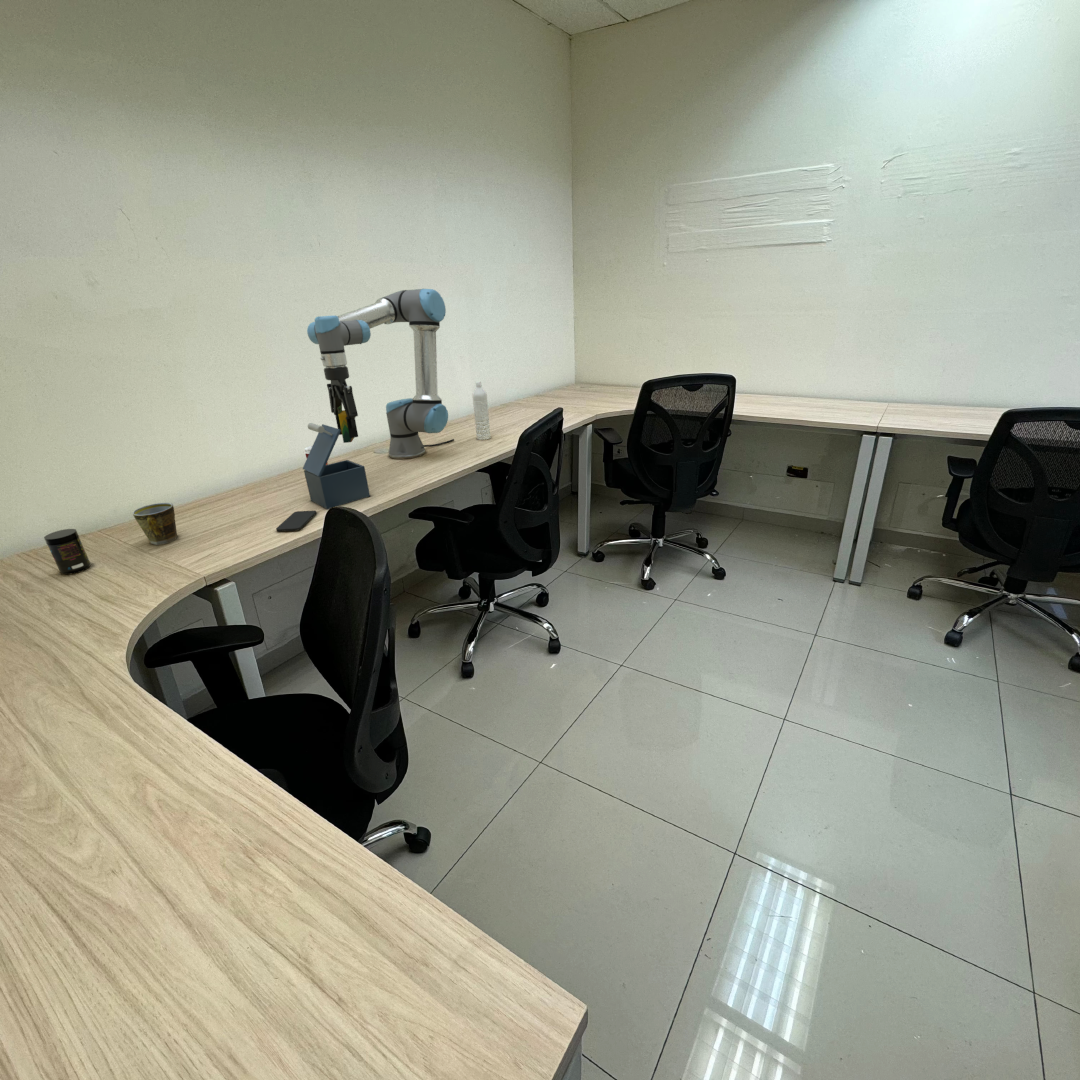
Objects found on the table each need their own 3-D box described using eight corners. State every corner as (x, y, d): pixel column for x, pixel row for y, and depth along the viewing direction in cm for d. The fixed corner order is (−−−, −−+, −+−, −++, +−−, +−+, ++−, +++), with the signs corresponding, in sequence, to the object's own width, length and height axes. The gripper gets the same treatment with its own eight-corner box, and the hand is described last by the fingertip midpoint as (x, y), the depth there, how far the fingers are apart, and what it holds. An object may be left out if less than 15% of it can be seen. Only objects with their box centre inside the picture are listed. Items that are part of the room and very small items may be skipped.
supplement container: (84, 561, 152) (69, 527, 148) (96, 566, 149) (81, 531, 145) (55, 572, 147) (38, 536, 143) (67, 577, 144) (51, 541, 139)
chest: (353, 488, 199) (347, 459, 194) (370, 496, 190) (364, 466, 186) (310, 500, 189) (303, 470, 184) (326, 509, 181) (319, 477, 176)
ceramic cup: (148, 537, 166) (136, 506, 162) (186, 530, 169) (175, 500, 165) (139, 554, 155) (126, 521, 151) (179, 546, 158) (168, 514, 154)
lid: (324, 425, 185) (308, 417, 181) (341, 430, 177) (324, 421, 172) (304, 469, 185) (287, 462, 180) (320, 476, 176) (303, 469, 172)
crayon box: (352, 442, 187) (345, 407, 182) (343, 443, 187) (336, 408, 182) (355, 437, 194) (349, 403, 189) (346, 438, 194) (340, 404, 189)
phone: (317, 510, 178) (299, 528, 164) (318, 512, 178) (299, 530, 164) (294, 511, 178) (274, 529, 164) (295, 513, 178) (275, 532, 164)
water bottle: (491, 439, 254) (486, 383, 243) (476, 440, 253) (471, 384, 243) (490, 435, 262) (485, 381, 251) (476, 436, 261) (471, 382, 251)
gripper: (311, 366, 185) (325, 433, 194) (338, 369, 171) (352, 442, 181) (332, 363, 190) (345, 429, 199) (360, 367, 176) (372, 437, 185)
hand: (348, 435), depth 190 cm, fingers closed on crayon box, 7 cm apart
